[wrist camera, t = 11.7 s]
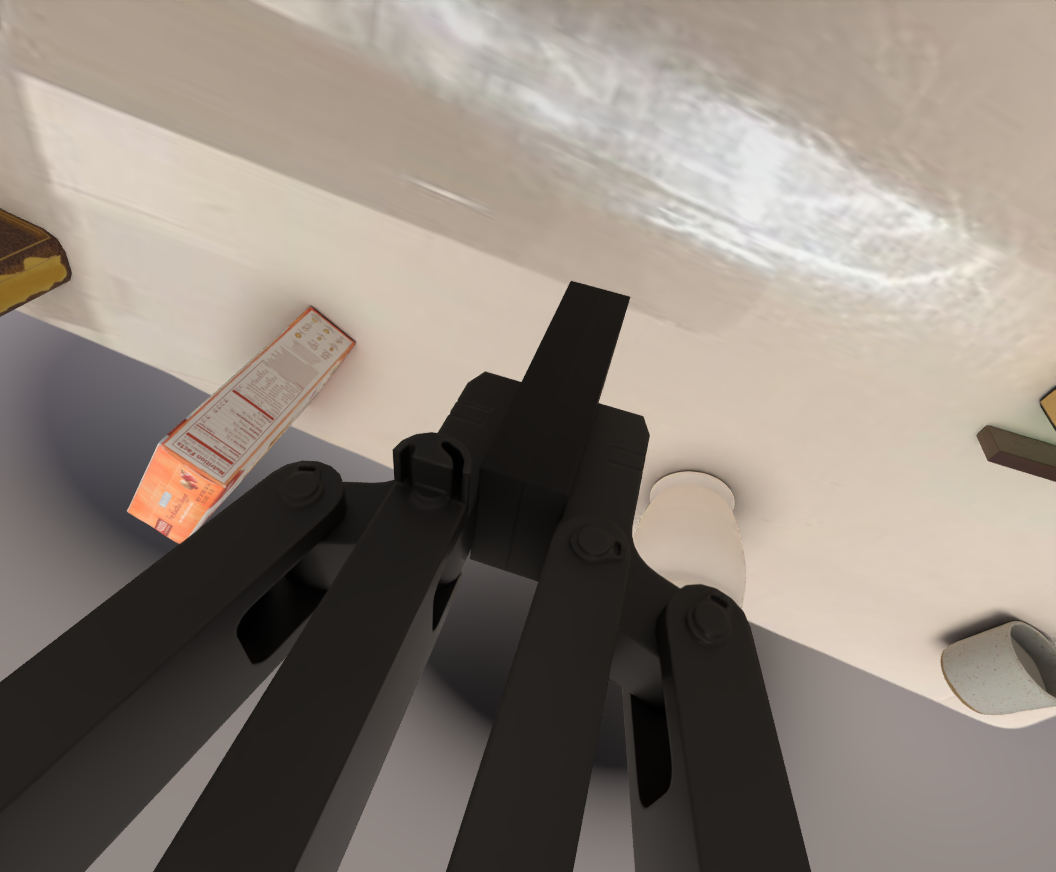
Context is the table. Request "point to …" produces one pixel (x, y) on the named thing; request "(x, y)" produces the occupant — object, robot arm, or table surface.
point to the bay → (1019, 452)
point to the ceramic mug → (1002, 670)
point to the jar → (693, 534)
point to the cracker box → (236, 427)
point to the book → (28, 262)
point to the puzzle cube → (1050, 407)
